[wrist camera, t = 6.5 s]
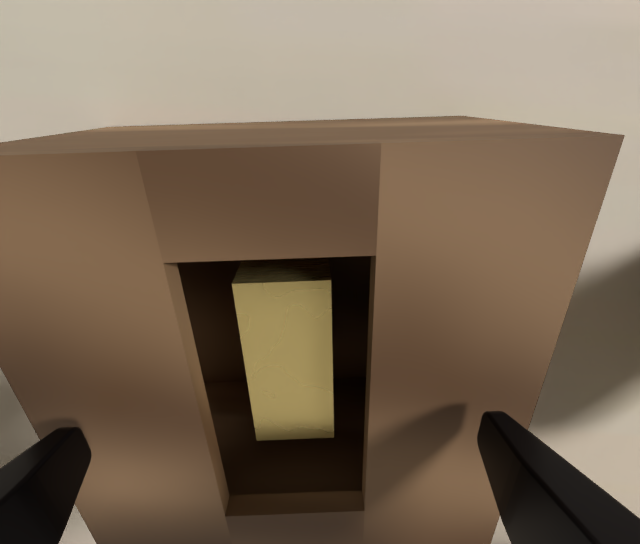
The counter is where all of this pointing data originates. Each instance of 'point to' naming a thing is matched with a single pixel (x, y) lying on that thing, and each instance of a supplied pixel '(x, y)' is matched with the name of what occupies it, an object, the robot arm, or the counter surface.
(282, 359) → the block
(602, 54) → the counter surface
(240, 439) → the coin box
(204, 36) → the counter surface
